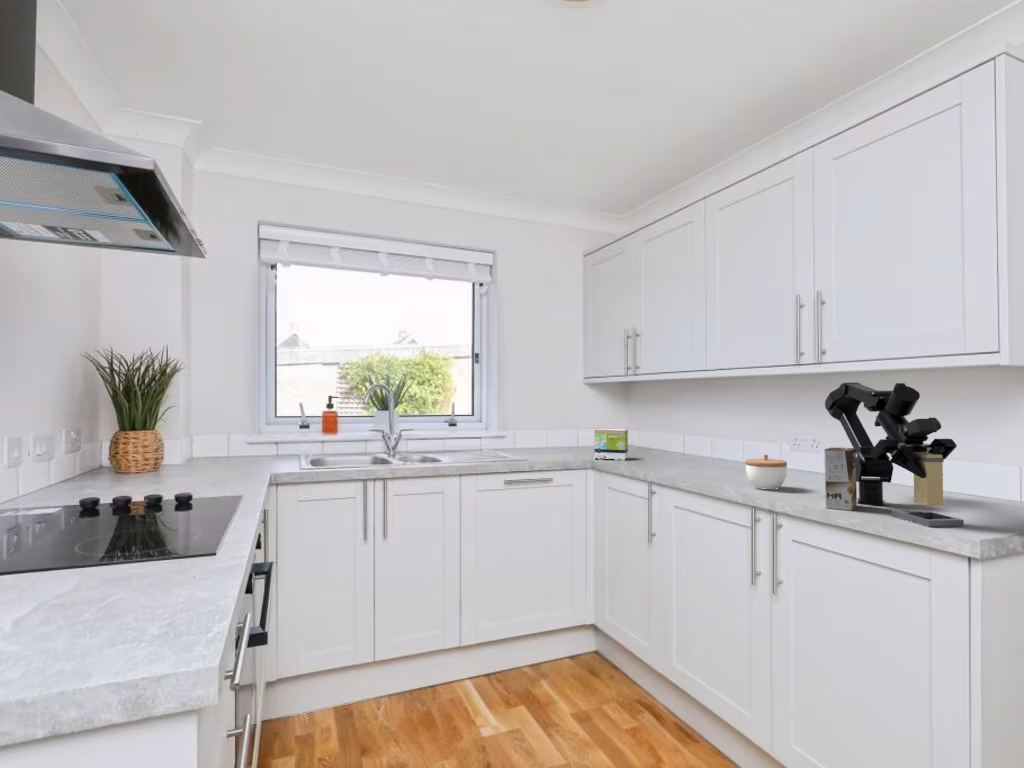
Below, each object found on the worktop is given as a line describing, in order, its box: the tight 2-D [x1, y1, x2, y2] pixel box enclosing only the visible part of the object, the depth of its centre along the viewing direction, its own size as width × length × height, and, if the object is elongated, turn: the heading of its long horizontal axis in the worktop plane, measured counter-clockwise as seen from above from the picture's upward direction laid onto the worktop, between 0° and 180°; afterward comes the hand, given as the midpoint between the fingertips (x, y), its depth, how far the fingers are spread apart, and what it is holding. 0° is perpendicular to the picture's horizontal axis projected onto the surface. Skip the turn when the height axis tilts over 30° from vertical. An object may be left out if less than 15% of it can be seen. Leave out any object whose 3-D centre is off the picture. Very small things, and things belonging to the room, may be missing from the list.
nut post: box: [913, 453, 945, 506], centre depth 135 cm, size 4×4×12 cm
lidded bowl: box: [744, 454, 788, 489], centre depth 185 cm, size 13×13×11 cm
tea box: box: [593, 428, 629, 460], centre depth 271 cm, size 15×10×15 cm, turn 72°
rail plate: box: [890, 509, 965, 528], centre depth 136 cm, size 12×8×2 cm
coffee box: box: [824, 446, 858, 511], centre depth 154 cm, size 9×6×16 cm
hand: (932, 477), depth 134 cm, fingers closed on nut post, 4 cm apart
